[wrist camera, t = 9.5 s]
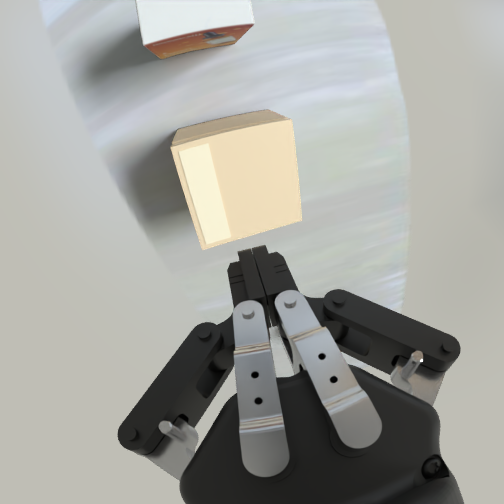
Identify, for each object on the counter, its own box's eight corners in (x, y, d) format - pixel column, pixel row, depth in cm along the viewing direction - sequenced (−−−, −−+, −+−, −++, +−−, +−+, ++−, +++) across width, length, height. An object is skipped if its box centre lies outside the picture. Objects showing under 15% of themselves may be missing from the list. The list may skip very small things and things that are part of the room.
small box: (160, 60, 21) (139, 48, 13) (152, 16, 18) (130, -13, 9) (236, 44, 22) (256, 25, 13) (229, 1, 18) (245, -35, 10)
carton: (177, 129, 26) (171, 142, 21) (268, 109, 27) (287, 117, 21) (199, 207, 32) (200, 238, 27) (279, 188, 33) (297, 215, 27)
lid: (170, 145, 20) (170, 147, 19) (288, 118, 21) (292, 119, 20) (201, 245, 26) (202, 250, 25) (299, 217, 27) (302, 220, 26)
